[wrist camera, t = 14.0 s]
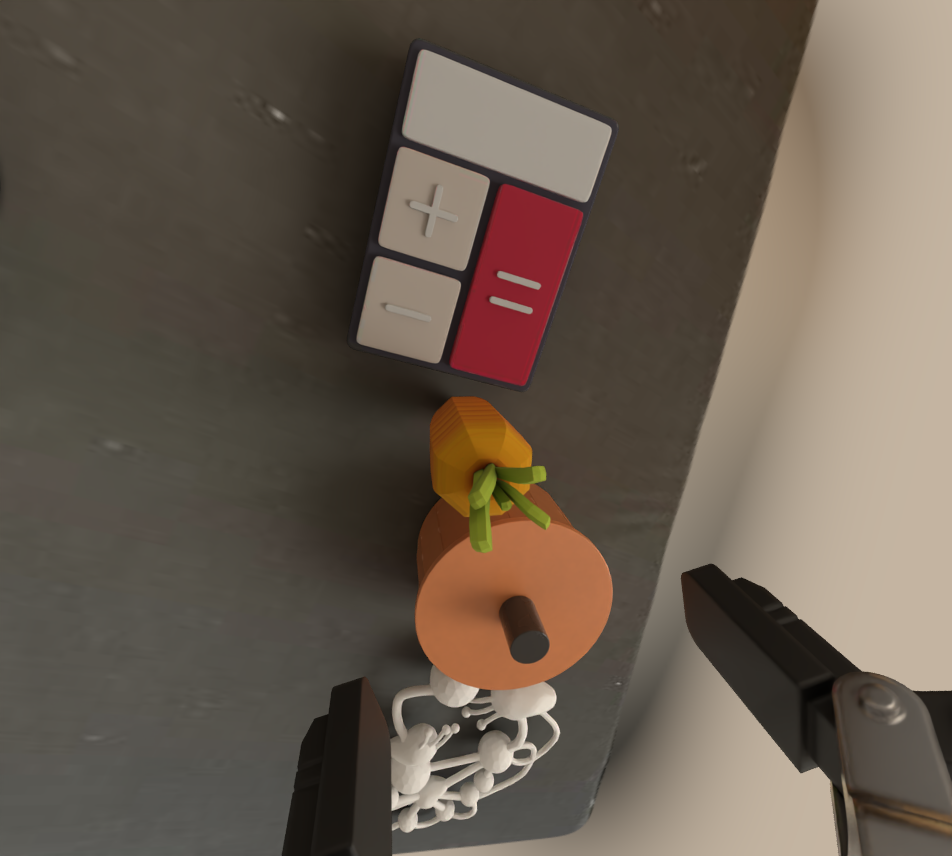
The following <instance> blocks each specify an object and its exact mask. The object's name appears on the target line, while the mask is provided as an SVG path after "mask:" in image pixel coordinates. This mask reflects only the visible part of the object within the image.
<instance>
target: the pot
mask: <svg viewBox="0 0 952 856" xmlns="http://www.w3.org/2000/svg"><path fill="white" fill-rule="evenodd" d="M523 496H525V497H526V498H527V499H528V500H529V501H530V502H532V503H533V504H534V505H535V506H537V507H538V508H540V509H541V510H542V511H544V512H545V513H546V514H547V515H549V516H550V520H554V521H558V522H561V523H563V524H566V525H568V526H570V527H572V528H573V526H572V525H571V523H570V522H569V520H568V519H567V517H566V516H565V514H564V513H563V512H562V510H561V509H560V508H559V506H558V505H557V504H556V503H555V501H554V500H553V499H552V498H551V496H550V495H549V494H548V493H547V492H546V491H544V490H543V489H542V488H540V487H539V486H537V485H535V484H530V489H529V490H528V491H527V492H526V493H525V494H524V495H523ZM515 517H527V516H526V515H525V514H524V513H523V512H522V511H521V510H520V509H519V508H518V507H517V506H516V505H515V504H513V505H512V507H511V509H509V510H508V511H506V512H505V513H504V514H502V515H493V516H490V523H491V522H494V521H498V520H502V519H507V518H515ZM468 532H470V530H469V517H464V516H463V515H461V514H460V513H459V512H458V511H457V510H456V509H455V508H453V507H452V506H451V505H450V504H449V503H448V502H446V501H445V500H444V499H443V498H441V499H440V500H439V501H438V502H437V503H436V504H435V505H434V506H433V507H432V509H431V510H430V512H429V513H428V515H427V516H426V518H425V520H424V522H423V524H422V527H421V530H420V533H419V538H418V549H417V567H418V579H419V588H420V585H421V582H422V580H423V578H424V576H425V574H426V573H427V571H428V569H429V568H430V566H431V565H432V564H433V562H434V561H435V559H436V558H437V557H438V556H439V555H440V554H441V553H442V552H443V551H444V550H445V549H446V548H447V547H448V546H449V545H451V544H452V543H453V542H454V541H456V540H457V539H459V538H460V537H462V536H463V535H465V534H466V533H468Z"/></svg>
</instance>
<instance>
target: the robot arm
mask: <svg viewBox="0 0 952 856" xmlns="http://www.w3.org/2000/svg"><path fill="white" fill-rule="evenodd" d="M681 583H682V592H683V600H684V609H685V617H686V623H687V626H688V629H689V632H690V634H691V636H692V638H693V640H694V641H695V643H696V645H697V646H698V647H699V649H700V650H701V651H702V652H703V653H704V655H705V656H706V657H707V658H708V659H709V661H710V662H711V663H712V665H713V666H714V667H715V668H716V669H717V671H718V672H719V673H720V674H721V676H722V677H723V678H724V679H725V680H726V682H727V683H728V684H729V686H730V687H731V688H732V689H733V690H734V692H735V693H736V694H737V695H738V697H739V698H740V699H741V700H742V701H743V703H744V704H745V705H746V707H747V708H748V709H749V710H750V711H751V713H752V714H753V715H754V716H755V718H756V719H757V720H758V721H759V723H761V725H762V726H763V727H764V729H765V730H766V731H767V732H768V734H769V735H770V736H771V737H772V739H773V740H774V741H775V742H776V744H777V745H778V746H779V747H780V748H781V750H782V751H783V752H784V753H785V755H786V756H787V757H788V758H789V760H790V761H791V762H792V763H793V764H794V766H795V767H796V768H797V769H798V770H799V772H800V773H803V772H806V771H808V770H811V769H814V768H816V767H819V768H820V769H821V770H822V771H823V772H824V773H825V774H826V776H827V777H828V778H829V779H830V790H831V798H832V806H833V814H834V821H835V829H836V837H837V845H838V853H839V856H952V691H912V690H910V689H909V688H907V687H906V686H905V685H903V684H901V683H899V682H897V681H896V680H893V679H891V678H889V677H886V676H883V675H880V674H876V673H871V672H862V671H861V670H860V669H858V668H857V667H856V666H855V665H854V664H852V663H851V662H850V661H849V660H848V659H847V658H845V657H844V656H843V655H842V654H841V653H840V652H838V651H837V650H836V649H835V648H834V647H832V645H830V644H829V643H828V642H827V641H826V640H825V639H823V638H822V637H821V636H820V635H819V634H817V633H816V632H815V631H814V630H813V629H812V628H811V627H809V626H808V625H807V624H806V623H805V622H804V621H802V620H801V619H800V620H799V619H798V617H797V615H795V614H794V613H793V612H792V611H791V610H790V609H788V608H787V607H786V606H785V607H784V606H783V604H782V602H780V601H779V600H778V599H777V598H776V597H774V596H773V595H772V594H771V593H770V592H769V591H768V590H766V589H765V588H764V587H761V586H759V585H757V584H755V583H753V582H751V581H748V580H746V579H744V578H738V579H735V580H731V579H730V578H729V577H728V576H727V575H726V574H725V573H723V572H722V571H721V570H720V569H719V568H718V567H717V566H715V565H714V564H708V565H705V566H702V567H699V568H696V569H693V570H690V571H687V572H684V573H682V575H681ZM282 856H392V785H391V742H390V736H389V731H388V727H387V723H386V721H385V718H384V716H383V713H382V711H381V709H380V706H379V704H378V702H377V700H376V697H375V695H374V693H373V690H372V688H371V686H370V683H369V681H368V679H367V678H366V677H362V678H359V679H356V680H353V681H350V682H347V683H344V684H341V685H338V686H335V687H333V689H332V692H331V699H330V707H329V714H327V715H324V716H321V717H318V718H315V719H314V721H313V723H312V724H311V726H310V728H309V730H308V732H307V734H306V736H305V738H304V739H303V741H302V744H301V750H300V755H299V761H298V772H296V778H295V784H294V792H293V795H292V800H291V806H290V812H289V817H288V823H287V829H286V834H285V840H284V845H283V851H282Z"/></svg>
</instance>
